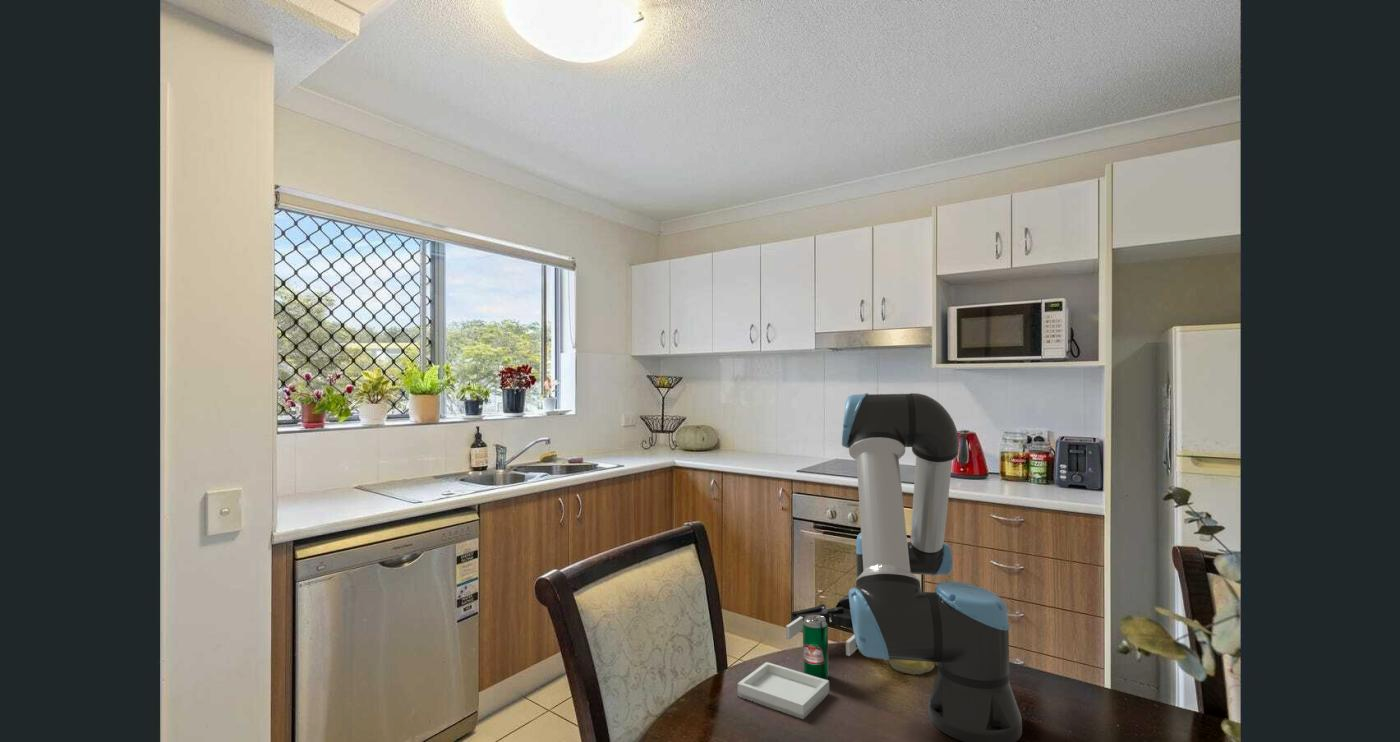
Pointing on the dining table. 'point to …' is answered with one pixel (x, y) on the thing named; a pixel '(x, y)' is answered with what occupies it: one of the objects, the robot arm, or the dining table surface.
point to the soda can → (815, 646)
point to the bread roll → (911, 666)
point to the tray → (784, 689)
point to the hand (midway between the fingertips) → (816, 640)
